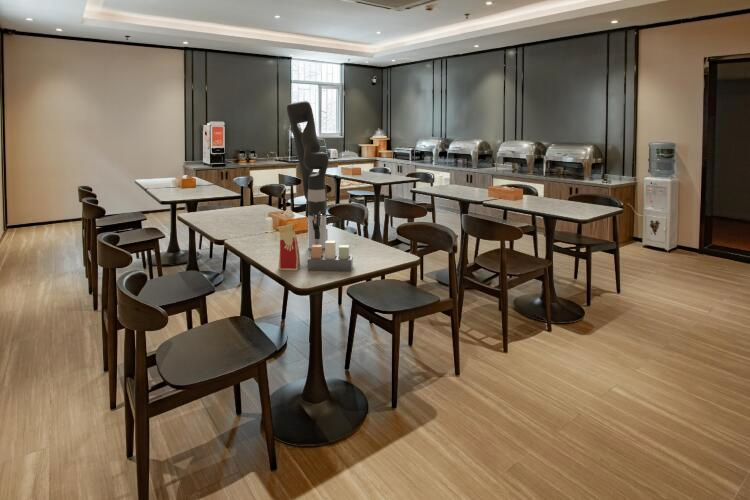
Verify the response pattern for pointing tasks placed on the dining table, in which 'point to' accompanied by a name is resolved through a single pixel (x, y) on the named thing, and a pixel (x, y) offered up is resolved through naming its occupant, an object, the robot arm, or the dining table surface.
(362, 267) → the dining table surface
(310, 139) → the robot arm
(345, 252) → the sage key
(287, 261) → the milk carton
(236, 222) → the dining table surface
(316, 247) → the terracotta key
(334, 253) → the ivory key
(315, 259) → the frame
